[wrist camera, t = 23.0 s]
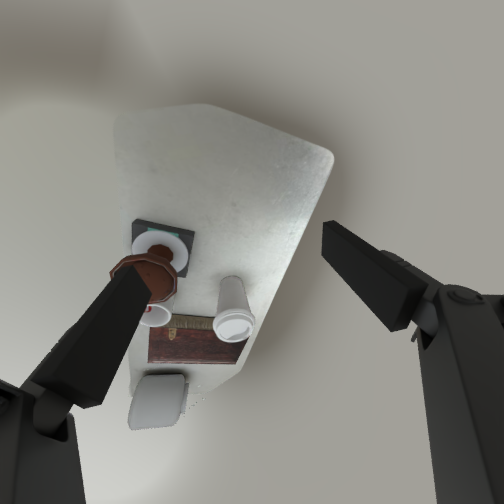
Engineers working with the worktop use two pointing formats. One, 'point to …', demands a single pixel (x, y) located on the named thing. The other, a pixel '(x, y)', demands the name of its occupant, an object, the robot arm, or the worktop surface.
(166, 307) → the cup
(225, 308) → the coffee cup
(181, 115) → the worktop surface
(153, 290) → the ice cream bowl
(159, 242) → the scale
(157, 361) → the hardback book
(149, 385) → the jar
